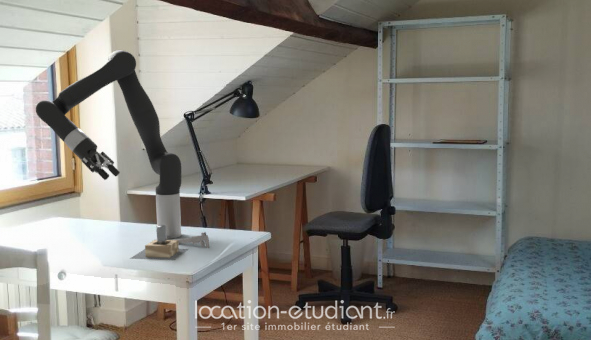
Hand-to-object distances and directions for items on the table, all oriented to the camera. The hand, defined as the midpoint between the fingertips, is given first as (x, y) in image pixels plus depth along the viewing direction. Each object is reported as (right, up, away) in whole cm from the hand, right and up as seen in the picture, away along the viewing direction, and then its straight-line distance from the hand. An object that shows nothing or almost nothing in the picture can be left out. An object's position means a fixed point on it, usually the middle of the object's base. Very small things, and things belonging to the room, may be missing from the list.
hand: (112, 176), depth 231 cm
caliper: (+24, -26, +11) cm, 37 cm away
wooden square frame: (+18, -27, -2) cm, 33 cm away
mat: (+17, -28, -2) cm, 33 cm away
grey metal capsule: (+18, -27, -2) cm, 33 cm away
